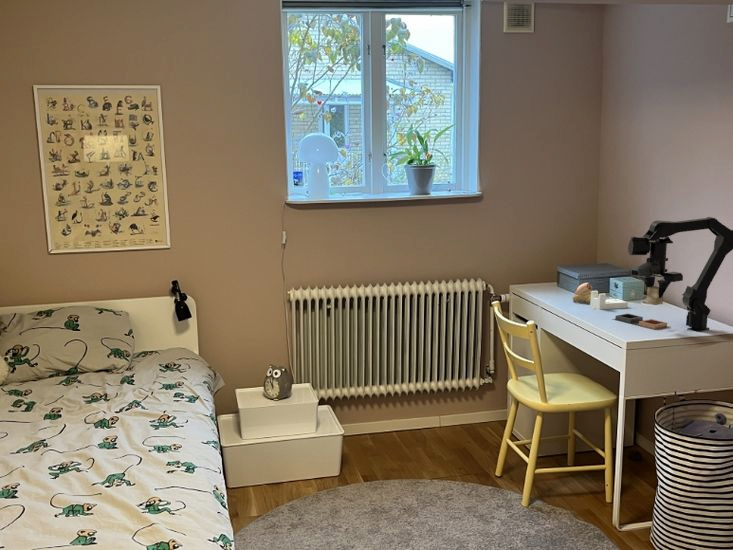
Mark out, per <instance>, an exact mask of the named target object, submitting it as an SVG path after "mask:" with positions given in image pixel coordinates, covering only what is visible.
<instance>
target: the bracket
mask: <svg viewBox="0 0 733 550" xmlns="http://www.w3.org/2000/svg"><path fill="white" fill-rule="evenodd" d="M606 296H607V293H599V291H598V290H591V301H590V303H589V304H590V305H589V309H591V308H592V309H591V310H611V309H613V310H614V309H628V304H629V302H628V301H625V300H622V299H620V298H609V299H606V298H607V297H606Z"/></svg>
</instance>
